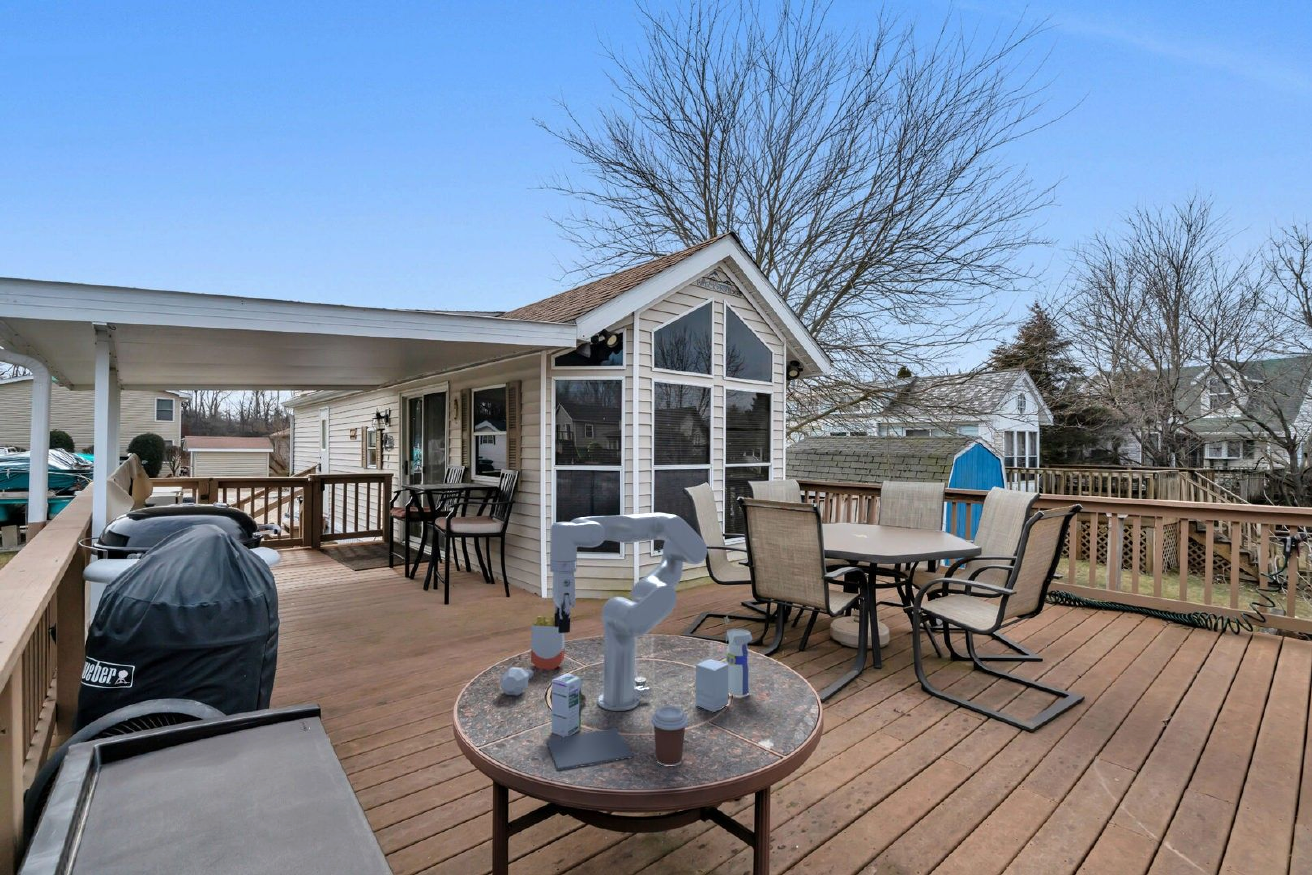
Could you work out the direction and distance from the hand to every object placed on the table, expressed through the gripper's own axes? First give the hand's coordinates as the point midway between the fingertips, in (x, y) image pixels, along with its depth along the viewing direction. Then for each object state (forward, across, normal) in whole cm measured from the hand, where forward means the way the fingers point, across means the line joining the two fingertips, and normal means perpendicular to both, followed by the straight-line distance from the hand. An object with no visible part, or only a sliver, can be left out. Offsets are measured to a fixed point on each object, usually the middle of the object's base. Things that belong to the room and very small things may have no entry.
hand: (562, 628), depth 171 cm
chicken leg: (+26, +25, +8) cm, 37 cm away
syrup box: (+26, -8, 0) cm, 27 cm away
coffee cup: (+26, -31, -21) cm, 45 cm away
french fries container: (+26, +41, -4) cm, 49 cm away
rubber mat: (+25, -20, -4) cm, 32 cm away
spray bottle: (+26, 0, -57) cm, 62 cm away
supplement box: (+26, -6, -45) cm, 52 cm away
